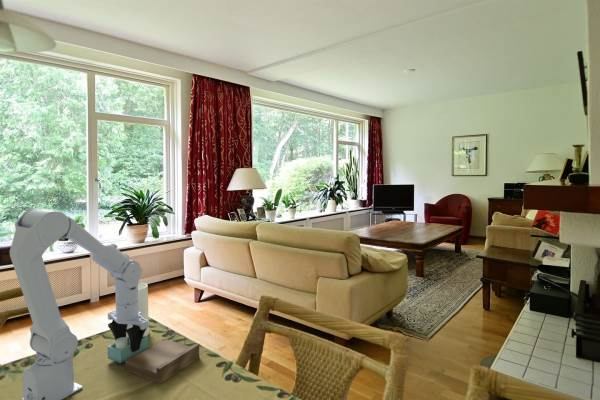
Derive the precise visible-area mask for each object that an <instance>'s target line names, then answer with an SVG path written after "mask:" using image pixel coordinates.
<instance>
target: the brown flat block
mask: <svg viewBox="0 0 600 400" xmlns="http://www.w3.org/2000/svg"><path fill="white" fill-rule="evenodd" d="M199 358H200V344H199V343H194V344H193V345H191V346H190V345H186V344H183V343H180V342H177V341H174V340H170V339H164V340H162V341H160V342H158V343H156V344H154V345H153V346H151V347H148V349H147V350H145V351H143V352H141V353H139V354H138V355H136V356H134V357H132V358H130V359H128V360H126V361H124V368H125V372H129V373H131V374H134V375H136V376H139V377H142V378H144V379H147V380H149V381H152V382H154V383H156V384H161V385H162V384H163V383H164V382H166V380H168V379H170V378H172V376H175V375H176V374H177V373H178V372H180V371H182V370H183V369H185V368H186V367H188V366H190V365H191V364H193V363H194V362H195V361H197V360H198V359H199Z"/></svg>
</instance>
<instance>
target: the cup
mask: <svg viewBox="0 0 600 400" xmlns="http://www.w3.org/2000/svg"><path fill="white" fill-rule="evenodd" d="M148 286H149V285H148V283H146V282H139V284H138V309H139V312H141V316H142V317H143V318H144V319H146V320H148V325H149V324H150V322H149V321H150V320H149V289H148ZM131 327H133V325H130V324H128V326H127V329H129V328H131ZM149 333H150V325H149V327H148V328H147V329H146V331H145V333H144V335H143V336H146V337H148V336H149ZM126 337H128V334H127V332H126Z"/></svg>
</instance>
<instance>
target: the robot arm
mask: <svg viewBox="0 0 600 400" xmlns="http://www.w3.org/2000/svg"><path fill="white" fill-rule="evenodd" d="M14 229H15V232H14V234H13V238H12V242H11V246H10V249H9V257H10V260H11V263H12V265H13V268H14V271H15V275H16V278H17V281H18V284H19V286H20V290H21V292H22V295H23V298H24V300H25V301H24V302H25V304H26V307H27V309H28V312H29V316H30V318H31V320H32V321H31V322H32V325H31V326H30V327H29V332H30V339H29V347H30V348H31V350H32V351H34V352H35V354H36V355H35V362H33V364H32V365H30V366H28V367H27V368H25V369H23V371H22V375H21V380H22V394H23V397H22V398H21V400H64V399H65V398H67V397H69V396H71V395H72V394H74V393H76V392H78V391H81V390H82V389H83V385H82V384H79V383H77V382H75V378H74V377H75V376H74V375H75V374H74V372H75V371H74V356H73V355H74V353H75V352H76V350H77V348H78V346H79V340H78V338H77V335H75V333H72V331H71V330H70V326H69V325H68V324H67V322H66V320H64V318H63V317H62V315H61V313H60V309H59V307H58V303H57V301H56V297H55V294H54V291H53V288H52V284H51V281H50V278H49V275H48V272H47V268H46V266H45V261H44V258H43V256H44V253H45V252H46V251H47V250H48V248H49V247H51V246H52V245H54V244H55V243H56V242H57V241H58V240H60V239H61V238H64V239H68V240H70V241H71V242H72V243H74V244H76V245H77V246H80V247H81V248H83V249H84V250H86V252H89V253H90V254H91V259H92V261H93V262H94V263H96V264H98V265H99V266H100V267H101V268H103V269H104V270H106V271H108V273H109V274H110V276H111V277H112V278H114V285H115V286H114V288H115V310H112V311H109V312H108V313H107V319H108V321H111V320H112V321H111V322H109V323H108V324H107V327H108V329H110V331H111V333H112V335H113V337H114V340H115V342H116V339H118V338H121V337H126V332H127V334H128V336H129V339H130V346H131V351H132V352H135V351H137V350H139V349H140V344H141V341H142V337H143V335H144V333H145V331H146V329H147V328H148V327H149V328H150V325H148V320H146V319H144V318H143V317H142V316H141V312H139V309H138V284H139V283H140V278H141V275H142V274H143V268H141V264H140V262H139V261H137V260H132V259H130V258H129V257H130V255H129V254H127V253H123V252H122V251H120V250H119V249H118V248H119V246H118V245H116V244H115V243H110V242H106V243H105V242H104V243H102V242H100V241H99V240H98V239H97V238H96V237H94V236H93V235H92V234H91V233H90V232H89V231H87V230H86V229H85V228H84V227H83V226H82V225H80V224H79V223H78V222H77V221H76V220H75V219H74V218H71V217H69V216H67V215H66V214H65V213H63V211H58V210H57V211H56V210H45V209H42V208H37V207H36V208H30V209H28V210H26V211H25V212H23V213H22V214H21V216H20V217H19V218H18V219H17V220H16V221H15V222H14ZM128 324H130V325H133V327H131V328H129V329H127V326H128Z"/></svg>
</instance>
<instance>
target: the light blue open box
mask: <svg viewBox="0 0 600 400" xmlns="http://www.w3.org/2000/svg"><path fill="white" fill-rule="evenodd" d="M106 348H107V359H108V360H111V361H113V362H116V363H118V364H122V363H125V361H126V360H128V359H130V358H132V357H134V356H136V355H138V354H139V353H141V352H143V351H145V350H147V349H149V337H148V336H143V337H142V341H141V344H140V349H139V350H137V351H135V352H132V351H131V346H130V339H129V336H128V337H121V338H118V339H116V341H115V342H113V343H111V344H110V345H107V347H106Z"/></svg>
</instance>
